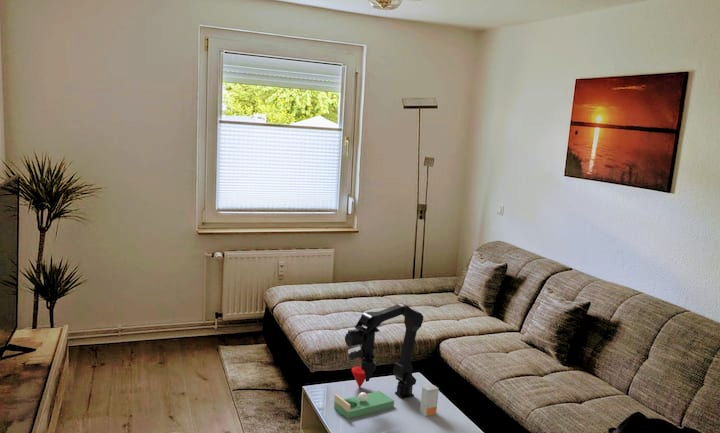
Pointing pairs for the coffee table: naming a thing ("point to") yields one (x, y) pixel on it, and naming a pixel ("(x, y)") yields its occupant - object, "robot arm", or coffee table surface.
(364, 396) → the ball
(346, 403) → the putting mat
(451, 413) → the coffee table surface
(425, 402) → the skincare box
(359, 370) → the gemstone
